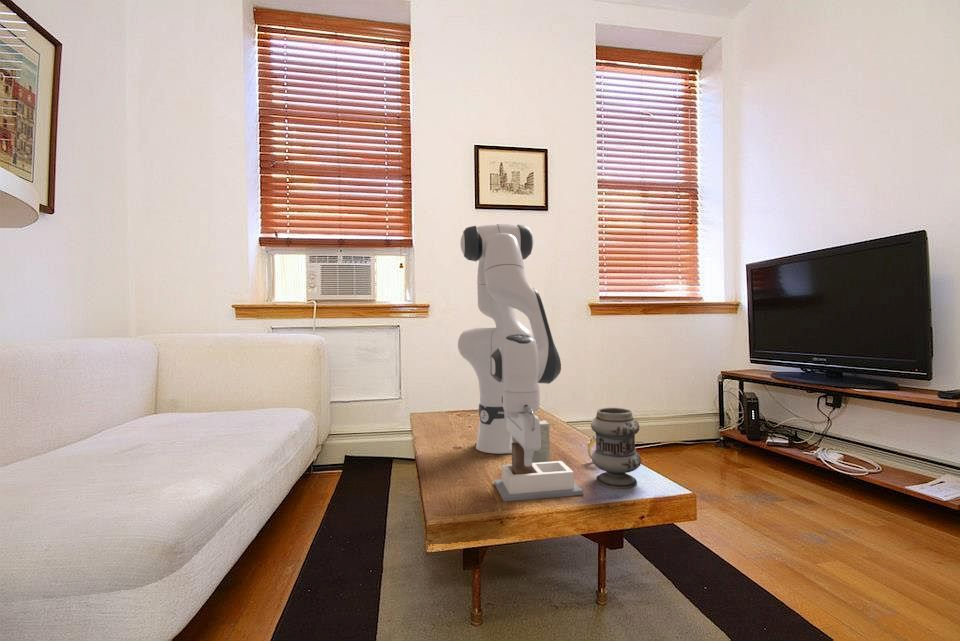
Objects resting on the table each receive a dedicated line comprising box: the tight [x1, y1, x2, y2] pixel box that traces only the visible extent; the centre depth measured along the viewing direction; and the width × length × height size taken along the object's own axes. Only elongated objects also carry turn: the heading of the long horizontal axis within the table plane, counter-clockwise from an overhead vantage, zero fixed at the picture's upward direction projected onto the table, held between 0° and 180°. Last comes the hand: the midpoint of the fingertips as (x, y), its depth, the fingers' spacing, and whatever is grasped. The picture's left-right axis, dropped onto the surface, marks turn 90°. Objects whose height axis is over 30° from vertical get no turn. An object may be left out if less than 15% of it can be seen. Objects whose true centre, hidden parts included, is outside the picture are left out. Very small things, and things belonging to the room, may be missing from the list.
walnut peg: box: [511, 442, 532, 475], centre depth 103 cm, size 4×4×10 cm
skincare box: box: [532, 420, 551, 463], centre depth 122 cm, size 6×4×12 cm
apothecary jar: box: [590, 407, 642, 489], centre depth 108 cm, size 12×12×18 cm
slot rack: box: [493, 460, 584, 502], centre depth 104 cm, size 19×11×5 cm, turn 99°
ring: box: [586, 433, 596, 460], centre depth 123 cm, size 7×3×8 cm, turn 93°
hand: (522, 458), depth 104 cm, fingers open, 8 cm apart
